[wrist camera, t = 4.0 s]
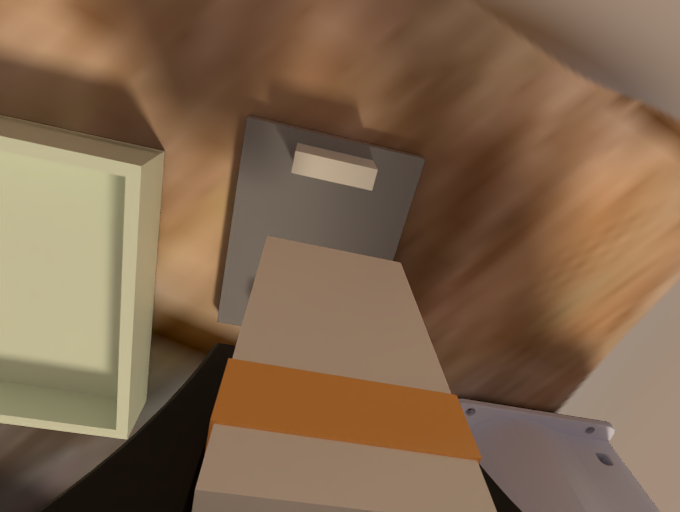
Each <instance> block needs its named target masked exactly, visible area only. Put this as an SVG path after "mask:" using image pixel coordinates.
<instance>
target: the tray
mask: <svg viewBox="0 0 680 512" xmlns="http://www.w3.org/2000/svg"><path fill="white" fill-rule="evenodd" d="M164 155H165V151H162V150H158V149H153V148H149V147H144V146H140V145H135V144H131V143H126V142H122V141H117V140H113V139H108V138H103V137H99V136H94V135H90V134H85V133H81V132H76V131H72V130H67V129H63V128H58V127H54V126H49V125H45V124H40V123H35V122H31V121H26V120H22V119H17V118H13V117H8V116H4V115H0V423H6V424H13V425H21V426H29V427H36V428H44V429H51V430H59V431H67V432H74V433H82V434H90V435H97V436H105V437H112V438H120V439H128V437H129V435H130V433H131V431H132V429H133V427H134V425H135V423H136V421H137V419H138V417H139V414H140V412H141V410H142V408H143V406H144V404H145V402H146V400H147V387H148V374H149V360H150V346H151V333H152V319H153V305H154V292H155V278H156V264H157V251H158V237H159V223H160V209H161V196H162V182H163V168H164Z"/></svg>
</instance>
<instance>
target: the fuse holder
mask: <svg viewBox="0 0 680 512" xmlns="http://www.w3.org/2000/svg"><path fill="white" fill-rule="evenodd" d="M424 163H425V158H424V157H423V156H420V155H416V154H412V153H407V152H403V151H399V150H395V149H391V148H386V147H382V146H378V145H374V144H370V143H365V142H361V141H357V140H353V139H349V138H344V137H340V136H336V135H332V134H327V133H323V132H319V131H315V130H311V129H306V128H302V127H298V126H294V125H290V124H285V123H281V122H277V121H273V120H269V119H264V118H260V117H256V116H252V115H249V116H247V120H246V126H245V133H244V140H243V147H242V154H241V161H240V168H239V175H238V181H237V188H236V195H235V202H234V209H233V216H232V223H231V230H230V236H229V243H228V250H227V257H226V264H225V271H224V278H223V285H222V291H221V298H220V305H219V312H218V319H217V322H220V323H226V324H232V325H238V326H242V322H243V319H244V315H245V312H246V308H247V305H248V301H249V298H250V294H251V291H252V287H253V284H254V280H255V277H256V273H257V270H258V266H259V263H260V259H261V256H262V252H263V248H264V245H265V241H266V238H267V236H271V237H276V238H281V239H286V240H291V241H296V242H301V243H306V244H311V245H316V246H321V247H326V248H331V249H336V250H341V251H346V252H351V253H356V254H361V255H366V256H371V257H376V258H381V259H386V260H391V261H393V259H394V256H395V253H396V250H397V247H398V244H399V241H400V238H401V234H402V231H403V228H404V225H405V222H406V219H407V216H408V213H409V209H410V206H411V203H412V200H413V197H414V194H415V191H416V188H417V184H418V181H419V178H420V175H421V172H422V169H423V166H424Z"/></svg>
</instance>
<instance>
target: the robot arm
mask: <svg viewBox="0 0 680 512" xmlns="http://www.w3.org/2000/svg"><path fill="white" fill-rule="evenodd" d="M235 347H236V346H233V345H227V344H221V343H218V344H216V345H214V346H213V347H212V349H211V350H210V352H209V353H208V355H207V356H206V357H205V359H204V360H203V361H202V363H201V364H200V365H199V367H198V368H197V369H196V370H195V371H194V373H193V374H192V375H191V376H190V377H189V379H188V380H187V381H186V382H185V383H184V384H183V385H182V387H181V388H180V389H179V390H178V391H177V392H176V393H175V394H174V395H173V396H172V397H171V399H170V400H169V401H168V402H167V403H166V404H165V405H164V406H163V407H162V408H161V409H160V410H159V411H158V412H157V413H156V414H155V415H154V416H153V417H152V418H151V419H150V420H149V421H148V422H147V423H146V424H145V425H143V426H142V427H141V428H140V429H139V430H138V431H137V432H136V433H135V434H134V435H133V436H132V437H131V438H130V439H129V440H127V441H126V442H125V443H124V444H123V445H122V446H121V447H119V448H118V449H117V450H116V451H115V452H114V453H113V454H111V455H110V456H109V457H108V458H106V459H105V460H104V461H103V462H102V463H100V464H99V465H98V466H97V467H96V468H94V469H93V470H92V471H91V472H89V473H88V474H87V475H85V476H84V477H83V478H82V479H80V480H79V481H78V482H76V483H75V484H74V485H72V486H71V487H70V488H68V489H67V490H66V491H65V492H63V493H62V494H61V495H59V496H58V497H57V498H55V499H54V500H52V501H51V502H50V503H48V504H47V505H46V506H44V507H43V508H41V509H40V510H39V511H37V512H192V507H193V500H194V493H195V488H196V484H197V481H198V477H199V474H200V470H201V467H202V463H203V460H204V456H205V450H206V444H207V437H208V431H209V424H210V419H211V415H212V412H213V409H214V405H215V402H216V399H217V395H218V392H219V388H220V385H221V382H222V378H223V375H224V372H225V368H226V365H227V361H228V358H231V359H232V358H233V354H234V351H235ZM458 400H459V402H460V405H461V407H462V410H463V412H464V415H465V417H466V420H467V422H468V425H469V427H470V430H471V432H472V435H473V437H474V440H475V442H476V445H477V447H478V450H479V452H480V455H481V457H482V459H481V461H480V463H479V467H480V469H481V472H482V474H483V477H484V479H485V482H486V485H487V487H488V490H489V492H490V495H491V498H492V500H493V503H494V505H495V508H496V510H497V512H660V511H659V509H658V508H657V507H656V505H655V504H654V502H653V501H652V500H651V499H650V497H649V496H648V494H647V493H646V492H645V491H644V489H643V488H642V486H641V485H640V484H639V482H638V481H637V480H636V478H635V477H634V476H633V474H632V473H631V471H630V470H629V469H628V467H627V466H626V465H625V463H624V462H623V461H622V459H621V458H620V457H619V455H618V454H617V453H616V451H615V450H614V449H613V447H612V446H611V444H610V443H609V440H610V439H611V437H612V436H613V434H614V432H615V429H614V428H613V426H612V425H611V424H610V423H609V422H606V421H599V420H593V419H587V418H581V417H575V416H568V415H562V414H556V413H550V412H543V411H537V410H531V409H524V408H518V407H512V406H506V405H499V404H493V403H487V402H481V401H474V400H468V399H458ZM470 408H472V409H471V410H468V409H470Z"/></svg>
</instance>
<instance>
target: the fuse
mask: <svg viewBox="0 0 680 512" xmlns="http://www.w3.org/2000/svg"><path fill="white" fill-rule="evenodd" d="M481 459H482V457H481V455H480V452H479V450H478V447H477V445H476V442H475V440H474V437H473V435H472V432H471V430H470V427H469V425H468V422H467V420H466V417H465V415H464V412H463V410H462V407H461V405H460V402H459V400H458V397H457V395H455V394H451V391H450V389H449V386H448V384H447V381H446V379H445V376H444V373H443V371H442V368H441V366H440V363H439V360H438V358H437V355H436V353H435V350H434V347H433V345H432V342H431V340H430V337H429V335H428V332H427V329H426V327H425V324H424V322H423V319H422V316H421V314H420V311H419V309H418V306H417V304H416V301H415V298H414V296H413V293H412V291H411V288H410V285H409V283H408V280H407V278H406V275H405V272H404V270H403V267H402V265H401V262H396V261H391V260H386V259H381V258H376V257H371V256H366V255H361V254H356V253H351V252H346V251H341V250H336V249H331V248H326V247H321V246H316V245H311V244H306V243H301V242H296V241H291V240H286V239H281V238H276V237H271V236H267V238H266V241H265V245H264V248H263V252H262V256H261V259H260V263H259V266H258V270H257V273H256V277H255V280H254V284H253V287H252V291H251V294H250V298H249V301H248V305H247V308H246V312H245V315H244V319H243V322H242V326H241V329H240V333H239V337H238V340H237V344H236V347H235V351H234V354H233V358H232V359H231V358H228V361H227V365H226V368H225V372H224V375H223V378H222V382H221V385H220V388H219V392H218V395H217V399H216V402H215V405H214V409H213V412H212V415H211V419H210V424H209V431H208V437H207V444H206V450H205V456H204V460H203V463H202V467H201V470H200V474H199V477H198V481H197V484H196V488H195V493H194V500H193V507H192V512H497V510H496V508H495V505H494V503H493V500H492V498H491V495H490V492H489V490H488V487H487V485H486V482H485V479H484V477H483V474H482V472H481V469H480V467H479V463H480V461H481Z"/></svg>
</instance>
